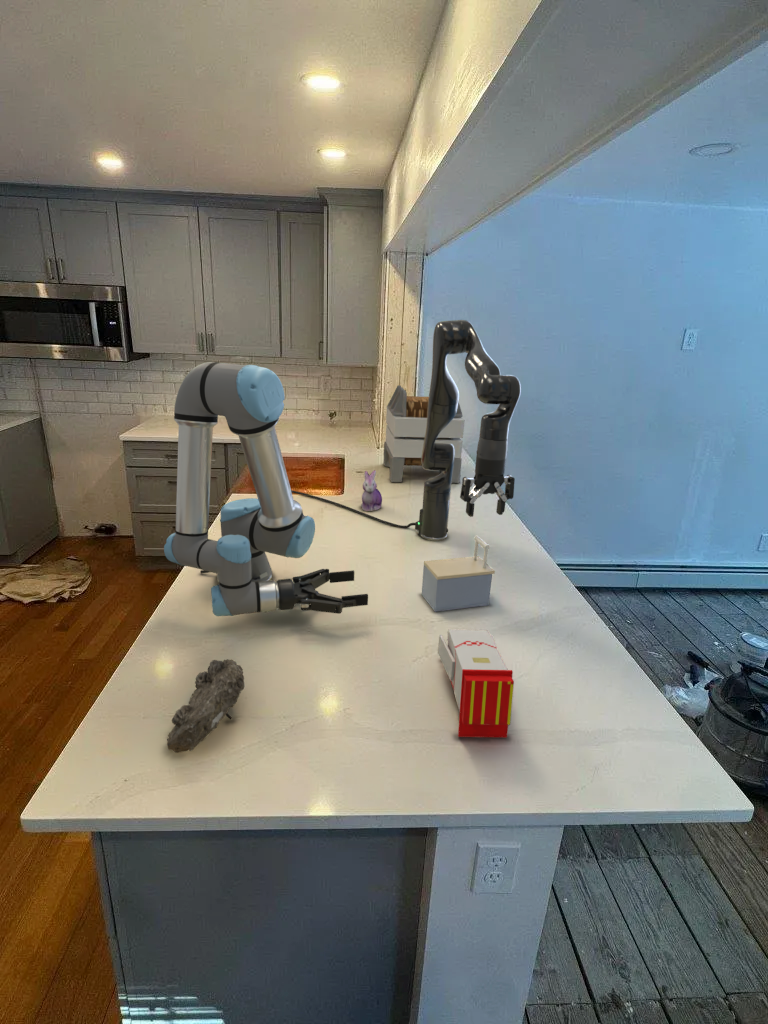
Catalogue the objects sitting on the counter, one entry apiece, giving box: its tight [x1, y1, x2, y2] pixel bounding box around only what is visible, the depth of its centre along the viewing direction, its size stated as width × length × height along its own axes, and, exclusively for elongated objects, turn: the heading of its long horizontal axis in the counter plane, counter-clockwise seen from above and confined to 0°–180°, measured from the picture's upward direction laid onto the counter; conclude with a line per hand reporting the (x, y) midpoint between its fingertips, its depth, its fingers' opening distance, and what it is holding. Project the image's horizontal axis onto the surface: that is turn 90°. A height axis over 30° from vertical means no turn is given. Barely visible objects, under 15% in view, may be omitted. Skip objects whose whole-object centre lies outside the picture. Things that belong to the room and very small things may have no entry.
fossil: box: [166, 658, 245, 754], centre depth 106 cm, size 22×10×15 cm
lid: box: [423, 535, 496, 580], centre depth 152 cm, size 16×10×8 cm, turn 107°
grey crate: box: [383, 384, 465, 484], centre depth 268 cm, size 34×33×41 cm
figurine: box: [360, 469, 383, 512], centre depth 222 cm, size 9×10×15 cm
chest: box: [421, 564, 493, 613], centre depth 155 cm, size 16×10×9 cm, turn 107°
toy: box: [437, 628, 515, 738], centre depth 117 cm, size 12×13×30 cm
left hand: (360, 586), depth 146 cm, fingers open, 13 cm apart
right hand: (484, 514), depth 150 cm, fingers open, 8 cm apart
